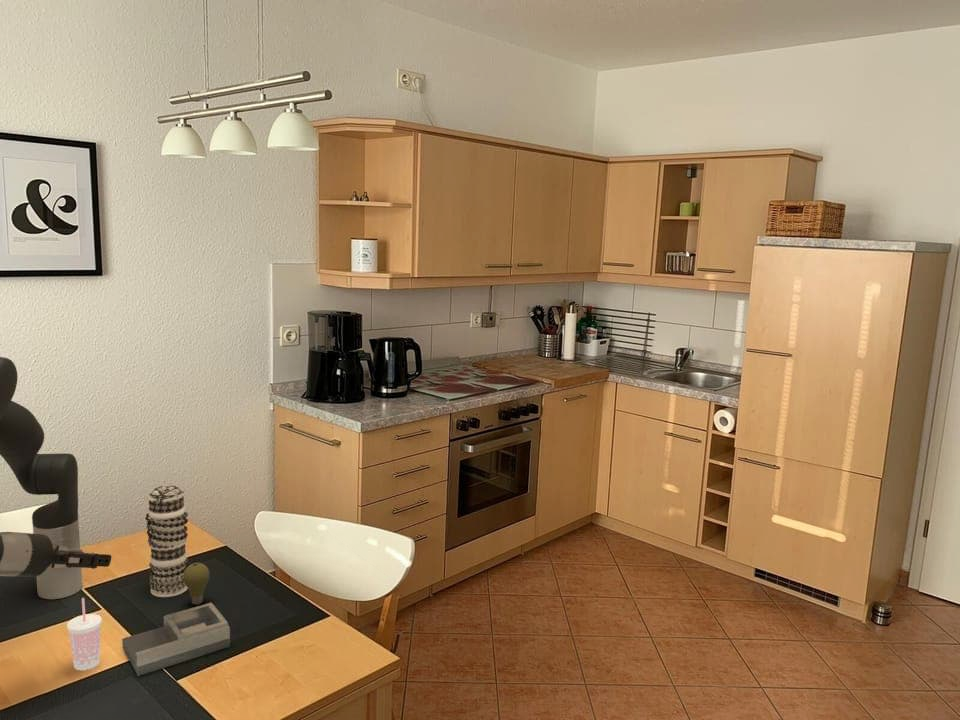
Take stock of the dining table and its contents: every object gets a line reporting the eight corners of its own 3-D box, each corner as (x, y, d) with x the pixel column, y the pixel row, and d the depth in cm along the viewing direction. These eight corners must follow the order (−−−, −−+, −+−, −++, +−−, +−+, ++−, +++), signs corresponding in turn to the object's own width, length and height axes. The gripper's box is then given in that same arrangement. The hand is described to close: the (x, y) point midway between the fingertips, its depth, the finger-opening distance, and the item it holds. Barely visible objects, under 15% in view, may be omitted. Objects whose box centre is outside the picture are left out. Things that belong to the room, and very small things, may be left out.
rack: (122, 647, 154) (121, 625, 153) (210, 621, 165) (210, 600, 164) (137, 676, 144) (136, 652, 143) (230, 646, 155) (229, 624, 154)
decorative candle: (155, 602, 172) (150, 499, 167) (144, 586, 179) (139, 487, 174) (195, 591, 177) (192, 491, 173) (183, 575, 184) (179, 479, 180)
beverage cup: (111, 659, 149) (107, 595, 147) (83, 676, 144) (79, 609, 141) (90, 651, 152) (86, 587, 149) (62, 667, 146) (57, 601, 144)
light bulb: (201, 612, 168) (200, 570, 166) (179, 608, 169) (177, 567, 167) (215, 600, 174) (213, 560, 172) (193, 596, 175) (192, 557, 173)
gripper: (47, 536, 130) (124, 542, 144) (-4, 528, 136) (75, 534, 150) (35, 581, 128) (115, 582, 142) (-16, 571, 134) (65, 573, 148)
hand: (94, 558), depth 146 cm, fingers open, 8 cm apart
